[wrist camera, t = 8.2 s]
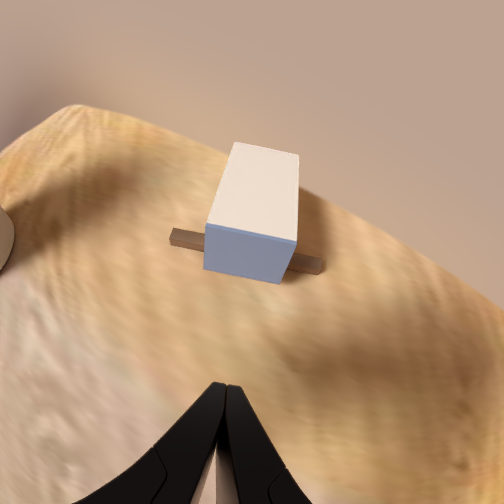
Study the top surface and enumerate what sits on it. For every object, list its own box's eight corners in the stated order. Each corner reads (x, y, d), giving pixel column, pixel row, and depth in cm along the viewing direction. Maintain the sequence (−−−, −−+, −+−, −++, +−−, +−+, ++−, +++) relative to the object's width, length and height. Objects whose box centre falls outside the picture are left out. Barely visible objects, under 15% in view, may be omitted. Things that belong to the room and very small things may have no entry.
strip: (317, 275, 23) (321, 269, 22) (170, 244, 23) (169, 238, 22) (317, 264, 24) (321, 258, 23) (174, 234, 23) (173, 227, 22)
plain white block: (296, 245, 17) (298, 155, 24) (205, 226, 17) (234, 141, 23) (279, 284, 21) (286, 194, 27) (203, 269, 21) (229, 182, 27)
